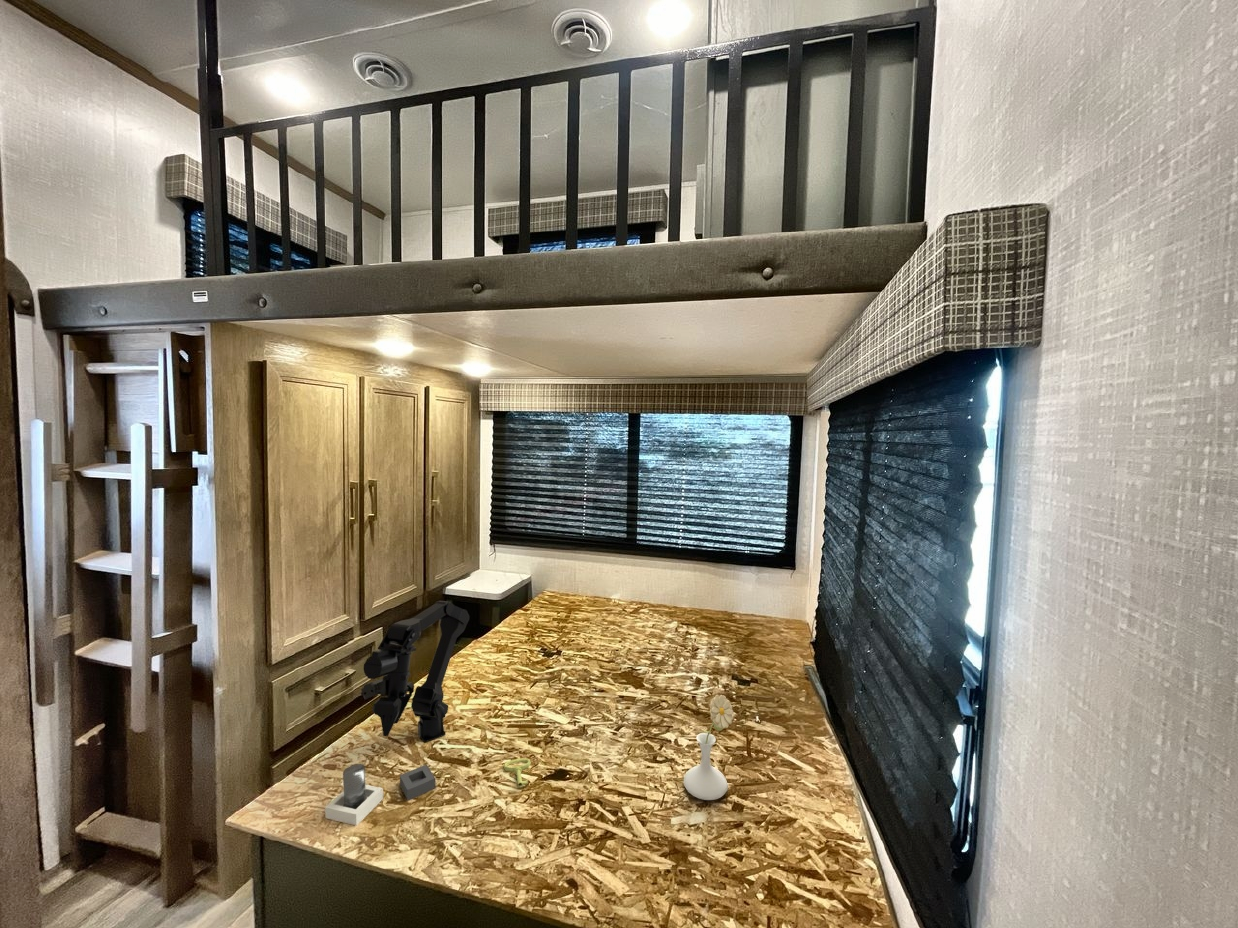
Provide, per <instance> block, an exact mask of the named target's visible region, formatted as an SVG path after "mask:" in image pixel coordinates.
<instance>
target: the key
mask: <svg viewBox="0 0 1238 928" xmlns="http://www.w3.org/2000/svg"><path fill="white" fill-rule="evenodd" d="M515 763H524V764H521V765H517V766H510V765H512V764H515ZM530 766H531V759H530V758H525V757H524V758H523V757H522V758H517V759H511V760H509V761H506V762H505V763H504V766H503V768H504V771H506V772H511V773H514V774H515V775H516V781H517V782H516V783H517V787H518V788H522V787H523V786H525V785H528V784H529V781H528V779H527V780H523V778H522V773H523V770H526V769H529V767H530Z"/></svg>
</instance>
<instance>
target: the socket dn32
mask: <svg viewBox="0 0 1238 928" xmlns="http://www.w3.org/2000/svg"><path fill="white" fill-rule="evenodd" d="M436 784H437V783H436V777H435V775H434V774H433V772H432V771H431V769H430V767H429V766H428V764H424V765H422V766H420V767H416V768H415V769H414V768H413V769H412V770H409V771H407V772H404V773H401V774H399V786H400V788H401V791H402V792H403V794H404V796H405V798H406V799H407V801H410V800H413V799H415V798H417V797H419V796H422V795H423V794H427V793H429V792H430V791H433V790H435V789H436V787H437V786H436Z"/></svg>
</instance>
